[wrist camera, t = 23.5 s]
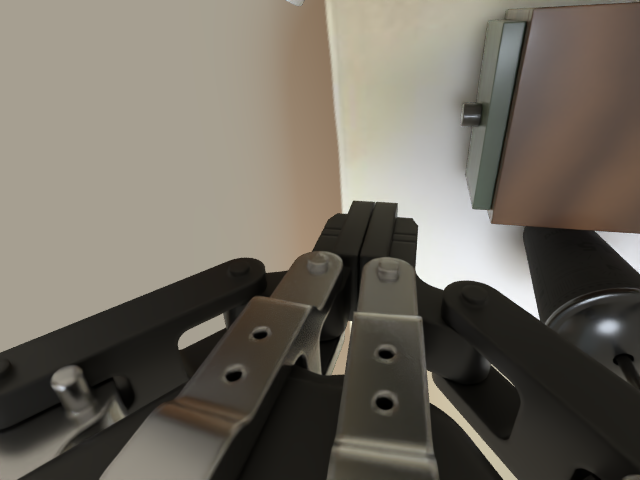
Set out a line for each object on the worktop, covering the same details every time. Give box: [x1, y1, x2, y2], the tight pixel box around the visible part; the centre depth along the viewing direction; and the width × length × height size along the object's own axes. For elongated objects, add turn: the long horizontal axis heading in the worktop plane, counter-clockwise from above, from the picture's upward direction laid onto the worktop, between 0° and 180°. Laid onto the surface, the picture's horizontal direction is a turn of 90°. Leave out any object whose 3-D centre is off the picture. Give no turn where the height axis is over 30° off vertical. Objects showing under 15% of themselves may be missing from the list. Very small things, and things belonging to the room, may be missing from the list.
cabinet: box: [487, 2, 640, 234], centre depth 25 cm, size 10×13×9 cm
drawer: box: [461, 20, 527, 210], centre depth 26 cm, size 10×11×7 cm
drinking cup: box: [523, 226, 640, 391], centre depth 26 cm, size 8×8×20 cm
